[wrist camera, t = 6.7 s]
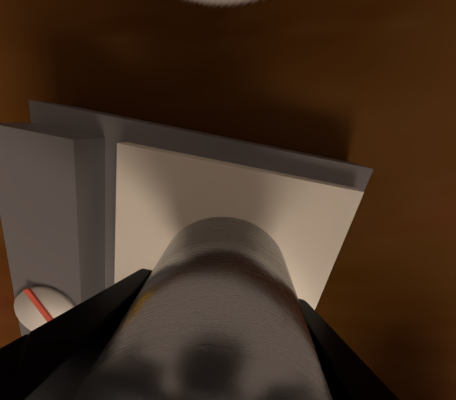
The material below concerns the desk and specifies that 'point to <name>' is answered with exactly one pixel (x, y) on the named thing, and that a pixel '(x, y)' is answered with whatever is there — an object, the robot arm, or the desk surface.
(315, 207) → the scale
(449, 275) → the desk surface
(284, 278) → the cylinder
